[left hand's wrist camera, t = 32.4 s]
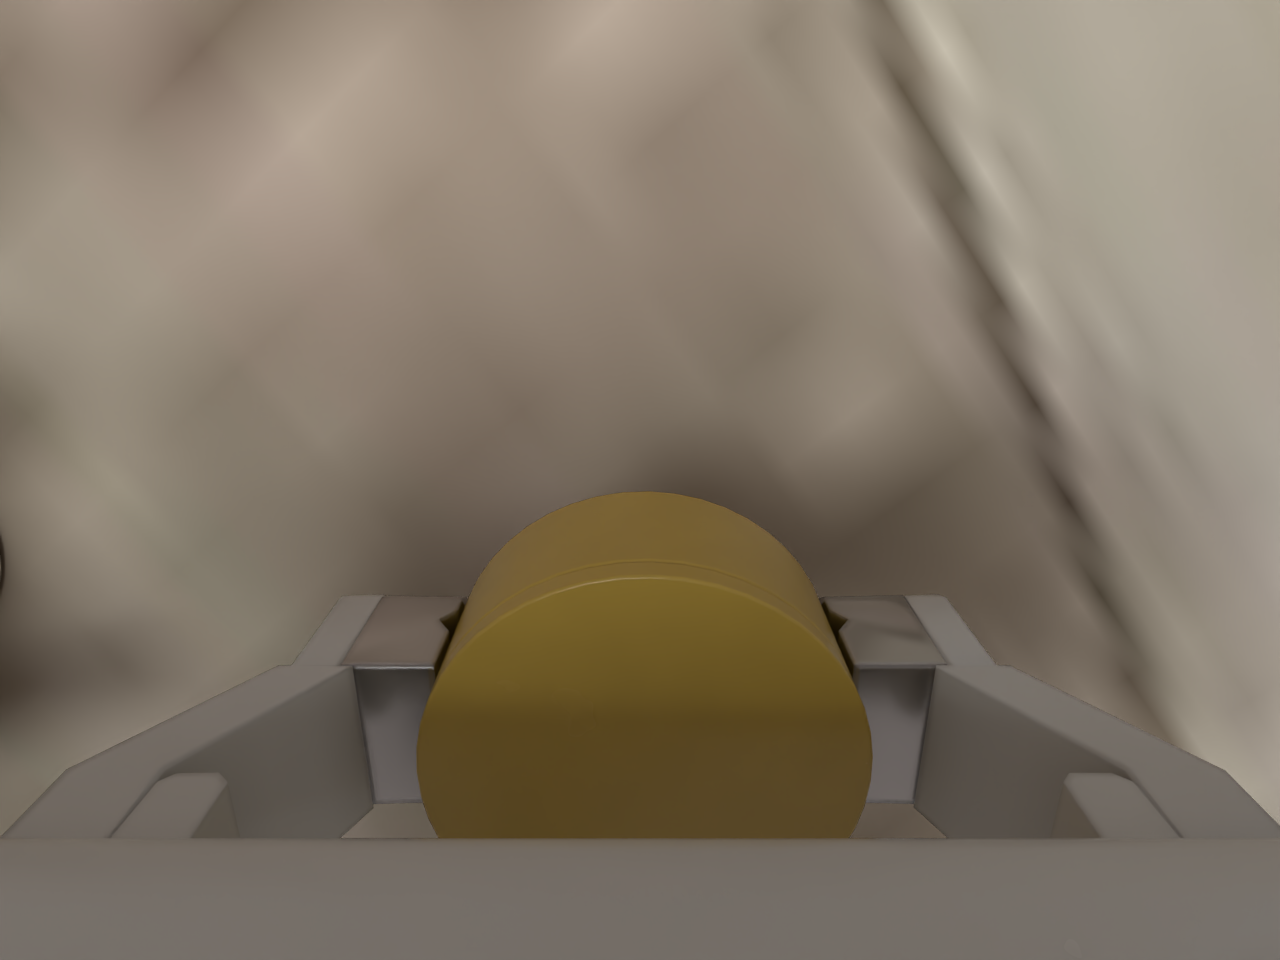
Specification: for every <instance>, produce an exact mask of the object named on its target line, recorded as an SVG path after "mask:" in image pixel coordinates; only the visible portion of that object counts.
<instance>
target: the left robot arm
mask: <svg viewBox="0 0 1280 960" xmlns="http://www.w3.org/2000/svg"><path fill="white" fill-rule="evenodd" d="M467 600H468V599H467V597H456V596H402V595H388V596H385V595H384V594H377V595H347V596H342V597H341V598H340V599H339V600H338V601H337V603H336V604H335V605H334V607H333V608H332V610H331V611H330V612H329V614H328V615H327V616H326V618H325V619H324V621H323V622H322V623H321V625H320V626H319V628H318V629H317V630H316V632H315V633H314V634H313V636H312V637H311V639H310V640H309V641H308V643H307V644H306V645H305V647H304V648H303V650H302V651H301V652H300V654H299V655H298V657H297V658H296V659H295V661H294V662H293V663H292V665H278V666H276V667H274V668H272V669H270V670H268V671H266V672H264V673H262V674H260V675H258V676H256V677H254V678H252V679H250V680H248V681H246V682H244V683H241V684H239V685H237V686H235V687H233V688H231V689H229V690H227V691H225V692H223V693H221V694H219V695H217V696H215V697H213V698H211V699H209V700H207V701H205V702H203V703H201V704H199V705H197V706H195V707H193V708H191V709H189V710H187V711H184V712H182V713H180V714H178V715H176V716H174V717H172V718H170V719H168V720H166V721H164V722H162V723H160V724H158V725H156V726H154V727H152V728H150V729H148V730H146V731H144V732H142V733H140V734H138V735H136V736H134V737H132V738H129V739H127V740H125V741H123V742H121V743H119V744H117V745H115V746H113V747H111V748H109V749H107V750H105V751H103V752H101V753H99V754H97V755H95V756H93V757H91V758H89V759H87V760H85V761H83V762H81V763H79V764H77V765H75V766H72V767H70V768H68V769H66V770H65V771H64V772H63V773H62V774H61V776H60V777H59V778H58V779H57V780H56V781H55V782H54V783H53V784H52V785H51V786H50V787H49V788H48V789H47V790H46V791H45V792H44V793H43V794H42V795H41V796H40V797H39V798H38V799H37V800H36V801H35V802H34V803H33V804H32V805H31V806H30V807H29V808H28V809H27V810H26V811H25V812H24V813H23V814H22V815H21V817H20V818H19V819H18V820H17V821H16V822H15V823H14V824H13V825H12V826H11V827H10V828H9V829H8V830H7V831H6V832H5V833H4V834H3V835H2V836H1V837H0V960H1280V826H1279V825H1278V824H1277V823H1276V822H1275V821H1274V820H1273V818H1272V817H1271V816H1270V815H1269V814H1268V813H1267V812H1266V811H1265V810H1264V809H1263V808H1262V807H1261V806H1260V805H1259V804H1258V803H1257V802H1256V801H1255V800H1254V799H1253V798H1252V797H1251V796H1250V795H1249V794H1248V793H1247V792H1246V791H1245V790H1244V789H1243V788H1242V787H1241V786H1240V785H1239V784H1238V783H1237V782H1236V781H1235V780H1234V779H1233V778H1232V777H1231V776H1230V775H1229V774H1228V773H1227V772H1226V771H1225V770H1223V769H1221V768H1219V767H1217V766H1215V765H1213V764H1211V763H1209V762H1207V761H1204V760H1202V759H1200V758H1198V757H1196V756H1194V755H1192V754H1190V753H1188V752H1186V751H1184V750H1182V749H1180V748H1178V747H1176V746H1174V745H1172V744H1170V743H1168V742H1166V741H1164V740H1161V739H1159V738H1157V737H1155V736H1153V735H1151V734H1149V733H1147V732H1145V731H1143V730H1141V729H1139V728H1137V727H1135V726H1133V725H1131V724H1129V723H1127V722H1125V721H1123V720H1120V719H1118V718H1116V717H1114V716H1112V715H1110V714H1108V713H1106V712H1104V711H1102V710H1100V709H1098V708H1096V707H1094V706H1092V705H1090V704H1088V703H1086V702H1084V701H1082V700H1080V699H1077V698H1075V697H1073V696H1071V695H1069V694H1067V693H1065V692H1063V691H1061V690H1059V689H1057V688H1055V687H1053V686H1051V685H1049V684H1047V683H1045V682H1043V681H1041V680H1039V679H1036V678H1034V677H1032V676H1030V675H1028V674H1026V673H1024V672H1022V671H1020V670H1018V669H1016V668H1014V667H1012V666H1010V665H996V664H995V662H994V661H993V660H992V658H991V657H990V656H989V654H988V653H987V652H986V650H985V649H984V648H983V646H982V645H981V644H980V642H979V641H978V640H977V638H976V637H975V635H974V634H973V633H972V631H971V630H970V629H969V627H968V626H967V625H966V623H965V622H964V621H963V619H962V618H961V617H960V615H959V614H958V613H957V611H956V610H955V609H954V607H953V606H952V605H951V603H950V602H949V601H948V599H947V598H946V597H944V596H942V595H939V594H931V595H909V596H903V595H886V596H844V597H822V598H819V601H820V603H821V606H822V608H823V610H824V613H825V615H826V617H827V620H828V622H829V625H830V627H831V629H832V632H833V634H834V636H835V639H836V641H837V643H838V646H839V648H840V650H841V653H842V655H843V658H844V660H845V662H846V665H847V667H848V669H849V672H850V674H851V676H852V679H853V681H854V684H855V686H856V688H857V691H858V693H859V695H860V698H861V700H862V702H863V705H864V707H865V710H866V714H867V718H868V722H869V726H870V730H871V739H872V751H873V762H872V774H871V782H870V787H869V791H868V795H867V799H866V803H902V804H914V808H915V809H916V810H917V811H919V812H920V813H921V814H922V815H923V816H924V817H925V818H926V819H927V820H928V821H930V822H931V823H932V824H933V825H934V826H935V827H936V828H937V829H938V830H940V831H941V832H942V833H943V834H944V835H945V836H946V837H947V838H341V837H342V836H343V835H344V834H345V833H346V832H347V831H349V830H350V829H351V828H352V827H353V826H354V825H355V824H356V823H357V822H358V821H359V820H361V819H362V818H363V817H364V816H365V815H366V814H367V813H368V812H369V811H370V810H372V809H373V804H385V803H421V802H423V801H422V798H421V794H420V788H419V783H418V777H417V767H416V746H417V739H418V733H419V726H420V722H421V719H422V716H423V712H424V709H425V706H426V703H427V700H428V698H429V695H430V693H431V690H432V688H433V685H434V683H435V680H436V677H437V675H438V672H439V670H440V667H441V665H442V662H443V660H444V657H445V655H446V652H447V650H448V647H449V645H450V642H451V640H452V637H453V635H454V632H455V630H456V627H457V625H458V622H459V620H460V617H461V615H462V612H463V610H464V607H465V605H466V602H467Z"/></svg>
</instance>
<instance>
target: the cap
mask: <svg viewBox="0 0 1280 960" xmlns="http://www.w3.org/2000/svg"><path fill="white" fill-rule="evenodd" d="M872 762H873V751H872V739H871V730H870V726H869V722H868V718H867V714H866V710H865V707H864V705H863V702H862V700H861V698H860V695H859V693H858V691H857V688H856V686H855V684H854V681H853V679H852V676H851V674H850V672H849V669H848V667H847V665H846V662H845V660H844V658H843V655H842V653H841V650H840V648H839V646H838V643H837V641H836V639H835V636H834V634H833V632H832V629H831V627H830V625H829V622H828V620H827V617H826V615H825V613H824V610H823V608H822V606H821V603H820V601H819V599H818V596H817V594H816V592H815V589H814V587H813V585H812V583H811V581H810V580H809V578H808V577H807V575H806V573H805V572H804V570H803V569H802V567H801V565H800V564H799V563H798V562H797V561H796V560H795V558H794V557H793V556H792V555H791V554H790V552H789V551H788V550H787V549H786V548H785V547H784V546H783V545H782V544H781V543H780V542H778V541H777V540H776V539H775V538H774V537H773V536H772V535H771V534H769V533H768V532H767V531H766V530H764V529H763V528H761V527H760V526H758V525H757V524H755V523H754V522H752V521H751V520H749V519H748V518H746V517H744V516H742V515H740V514H738V513H735V512H733V511H731V510H729V509H727V508H725V507H723V506H720V505H717V504H714V503H711V502H708V501H705V500H702V499H699V498H694V497H689V496H684V495H679V494H674V493H662V492H650V491H645V492H622V493H615V494H609V495H603V496H597V497H593V498H590V499H586V500H583V501H579V502H576V503H572V504H570V505H568V506H565V507H563V508H561V509H558V510H556V511H554V512H551V513H549V514H547V515H546V516H544V517H542V518H541V519H539V520H537V521H535V522H534V523H532V524H530V525H529V526H527V527H526V528H525V529H523V530H522V531H521V532H520V533H518V534H517V535H516V536H514V537H513V538H512V539H511V540H509V541H508V542H507V543H506V544H505V545H504V546H503V547H502V548H501V550H500V551H499V552H498V553H497V554H496V555H495V556H494V557H493V558H492V559H491V561H490V562H489V563H488V565H487V566H486V568H485V569H484V570H483V572H482V573H481V575H480V576H479V578H478V580H477V581H476V583H475V585H474V587H473V589H472V591H471V593H470V595H469V597H468V600H467V602H466V605H465V607H464V610H463V612H462V615H461V617H460V620H459V622H458V625H457V627H456V630H455V632H454V635H453V637H452V640H451V642H450V645H449V647H448V650H447V652H446V655H445V657H444V660H443V662H442V665H441V667H440V670H439V672H438V675H437V677H436V680H435V683H434V685H433V688H432V690H431V693H430V695H429V698H428V700H427V703H426V706H425V709H424V712H423V716H422V719H421V722H420V726H419V733H418V739H417V746H416V767H417V777H418V783H419V788H420V794H421V798H422V801H423V804H424V807H425V810H426V813H427V815H428V818H429V821H430V823H431V824H432V826H433V828H434V830H435V832H436V834H437V836H438V838H849V837H850V836H851V834H852V833H853V831H854V829H855V828H856V825H857V823H858V820H859V818H860V816H861V813H862V811H863V809H864V806H865V803H866V799H867V795H868V791H869V787H870V782H871V774H872Z"/></svg>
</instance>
